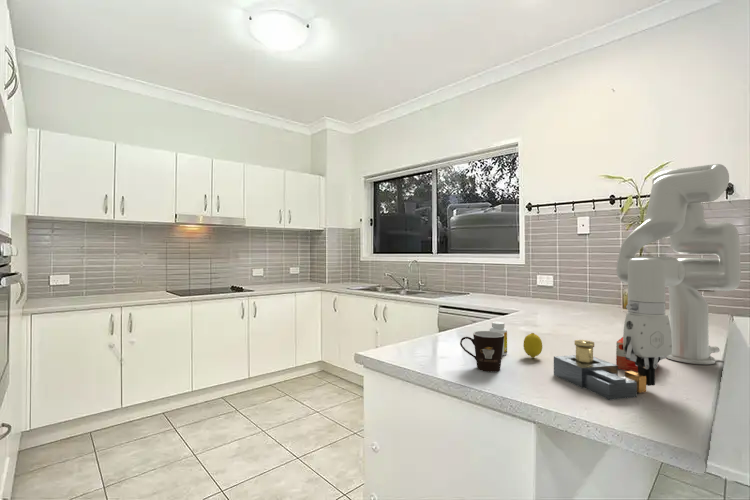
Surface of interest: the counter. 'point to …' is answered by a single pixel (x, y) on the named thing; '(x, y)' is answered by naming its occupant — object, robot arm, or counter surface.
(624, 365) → the medicine box
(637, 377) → the lock pin
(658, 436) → the counter surface
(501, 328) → the supplement bottle
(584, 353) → the block
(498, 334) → the coffee mug
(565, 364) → the mount
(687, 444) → the counter surface
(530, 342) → the lemon
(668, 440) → the counter surface
